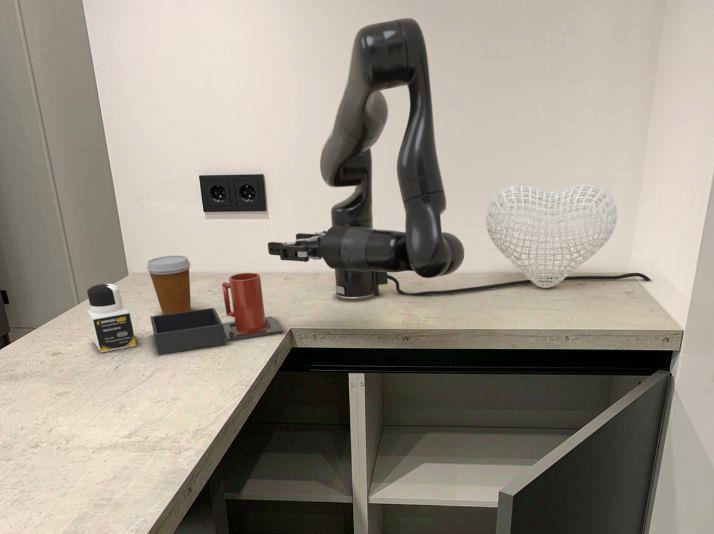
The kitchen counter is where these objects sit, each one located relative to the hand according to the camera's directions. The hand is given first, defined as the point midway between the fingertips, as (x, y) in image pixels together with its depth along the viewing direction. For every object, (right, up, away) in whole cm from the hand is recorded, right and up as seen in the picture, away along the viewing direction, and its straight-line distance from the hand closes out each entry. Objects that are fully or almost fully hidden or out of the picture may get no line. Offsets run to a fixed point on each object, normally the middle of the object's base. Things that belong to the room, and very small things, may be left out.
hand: (283, 243), depth 139 cm
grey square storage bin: (-20, -16, +10) cm, 28 cm away
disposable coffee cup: (-27, -7, +28) cm, 40 cm away
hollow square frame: (-8, -13, +14) cm, 21 cm away
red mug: (-10, -13, +15) cm, 22 cm away
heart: (+57, -1, +30) cm, 65 cm away
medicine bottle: (-35, -18, +10) cm, 41 cm away
